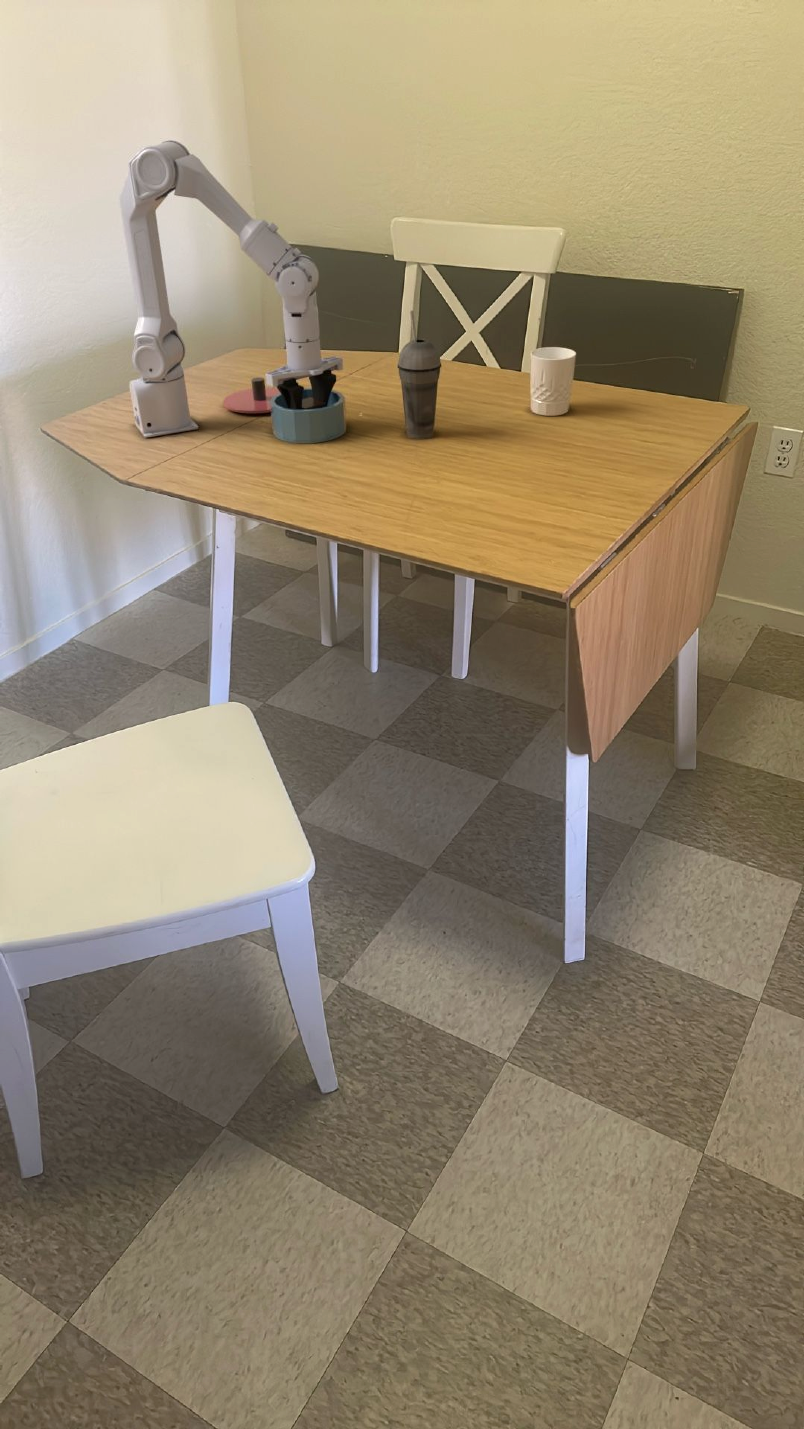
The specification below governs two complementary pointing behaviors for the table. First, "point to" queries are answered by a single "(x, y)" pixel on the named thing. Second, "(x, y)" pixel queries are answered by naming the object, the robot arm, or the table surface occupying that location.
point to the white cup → (551, 380)
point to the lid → (251, 398)
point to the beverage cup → (419, 385)
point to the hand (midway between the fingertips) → (308, 420)
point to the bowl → (308, 419)
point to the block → (312, 404)
